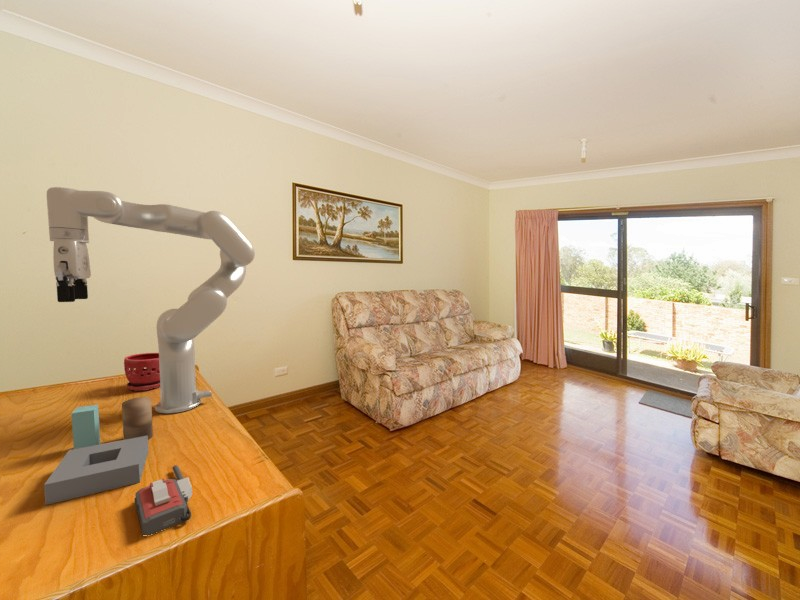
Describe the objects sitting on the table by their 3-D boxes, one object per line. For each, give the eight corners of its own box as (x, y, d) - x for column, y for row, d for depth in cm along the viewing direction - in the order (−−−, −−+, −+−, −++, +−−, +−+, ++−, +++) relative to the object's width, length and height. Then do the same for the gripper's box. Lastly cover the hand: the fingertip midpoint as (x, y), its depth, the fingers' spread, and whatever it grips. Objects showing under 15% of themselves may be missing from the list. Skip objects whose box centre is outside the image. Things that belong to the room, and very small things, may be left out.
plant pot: (145, 394, 119) (143, 361, 118) (116, 391, 122) (114, 358, 121) (177, 383, 132) (176, 352, 131) (150, 380, 135) (148, 350, 134)
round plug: (154, 431, 92) (152, 395, 91) (151, 440, 87) (149, 403, 86) (126, 436, 89) (124, 399, 88) (121, 446, 84) (119, 407, 83)
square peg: (100, 442, 86) (98, 404, 85) (96, 449, 82) (93, 410, 82) (79, 446, 84) (76, 407, 83) (74, 454, 80) (71, 413, 79)
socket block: (148, 451, 82) (147, 435, 82) (139, 482, 70) (138, 463, 70) (70, 467, 75) (69, 450, 74) (45, 505, 63) (44, 484, 62)
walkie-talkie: (204, 519, 60) (180, 470, 75) (203, 495, 60) (180, 451, 75) (142, 545, 54) (130, 487, 69) (141, 519, 54) (129, 466, 69)
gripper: (76, 234, 84) (80, 302, 85) (98, 239, 99) (101, 297, 101) (34, 232, 81) (39, 303, 82) (63, 238, 96) (67, 298, 97)
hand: (73, 300), depth 91 cm, fingers open, 9 cm apart
